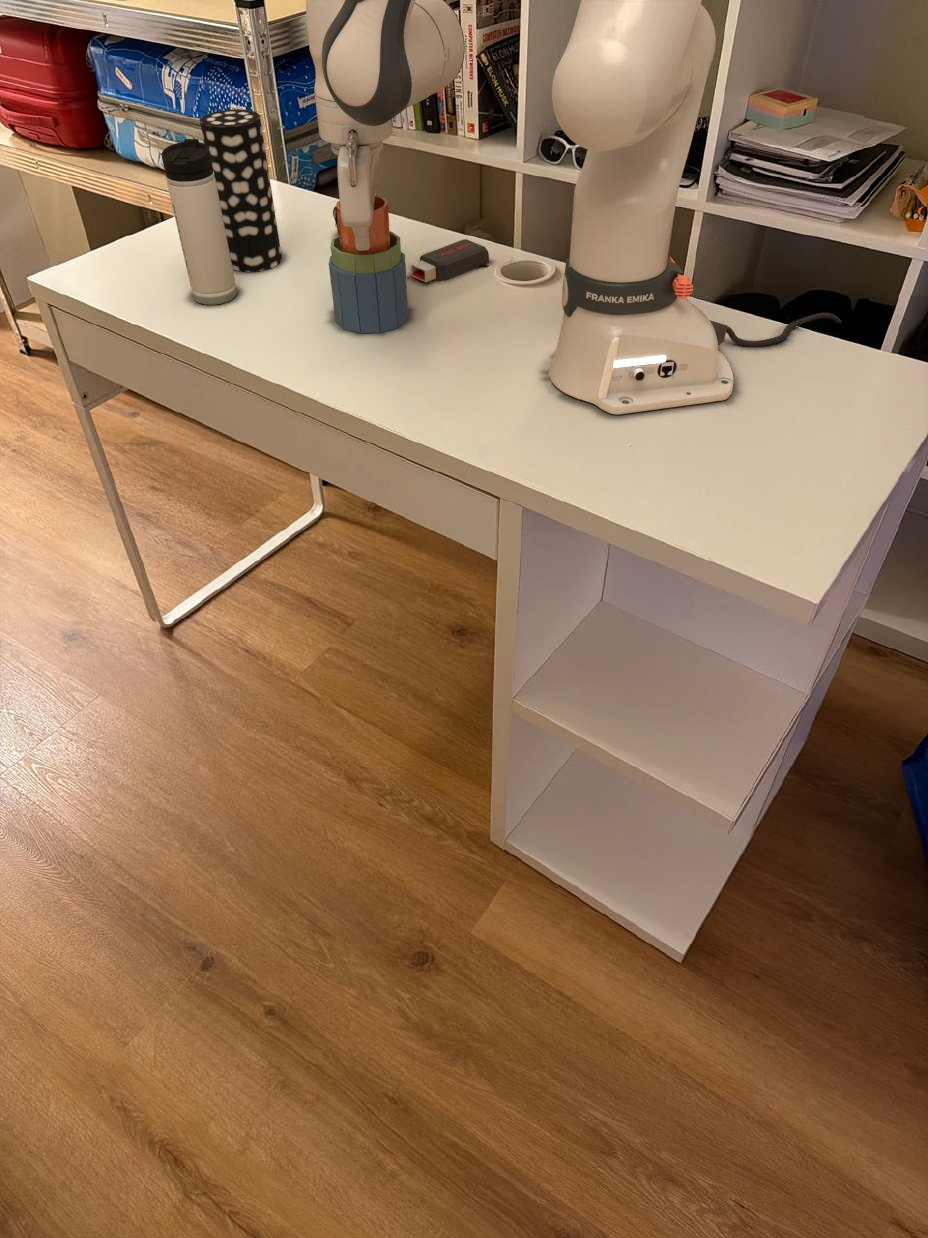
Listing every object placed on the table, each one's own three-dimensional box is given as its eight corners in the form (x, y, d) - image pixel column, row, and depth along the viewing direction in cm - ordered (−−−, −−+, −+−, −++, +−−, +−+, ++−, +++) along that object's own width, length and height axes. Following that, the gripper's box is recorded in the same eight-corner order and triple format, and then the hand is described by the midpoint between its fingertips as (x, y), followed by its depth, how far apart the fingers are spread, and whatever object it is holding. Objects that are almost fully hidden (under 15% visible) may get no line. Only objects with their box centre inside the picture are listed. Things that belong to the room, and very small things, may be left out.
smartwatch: (361, 231, 148) (359, 200, 144) (346, 243, 144) (343, 211, 141) (339, 228, 149) (336, 196, 145) (323, 239, 146) (320, 207, 142)
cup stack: (408, 299, 129) (404, 225, 122) (407, 332, 122) (402, 255, 115) (338, 301, 129) (330, 227, 122) (333, 333, 122) (324, 257, 115)
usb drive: (489, 262, 138) (489, 244, 136) (430, 286, 133) (429, 267, 131) (465, 252, 141) (465, 234, 139) (407, 275, 135) (406, 257, 133)
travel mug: (243, 286, 133) (215, 138, 120) (230, 306, 129) (200, 154, 115) (201, 284, 134) (169, 137, 120) (187, 304, 129) (152, 153, 115)
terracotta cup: (393, 265, 124) (388, 193, 118) (391, 286, 120) (386, 212, 113) (345, 267, 124) (338, 194, 118) (342, 287, 120) (334, 213, 113)
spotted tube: (216, 263, 139) (186, 120, 125) (254, 245, 144) (230, 105, 130) (255, 276, 136) (229, 130, 122) (293, 257, 141) (272, 114, 127)
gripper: (377, 145, 101) (386, 268, 111) (384, 94, 116) (391, 206, 125) (320, 147, 101) (334, 269, 111) (334, 95, 116) (345, 207, 125)
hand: (364, 235), depth 118 cm, fingers closed on terracotta cup, 6 cm apart
